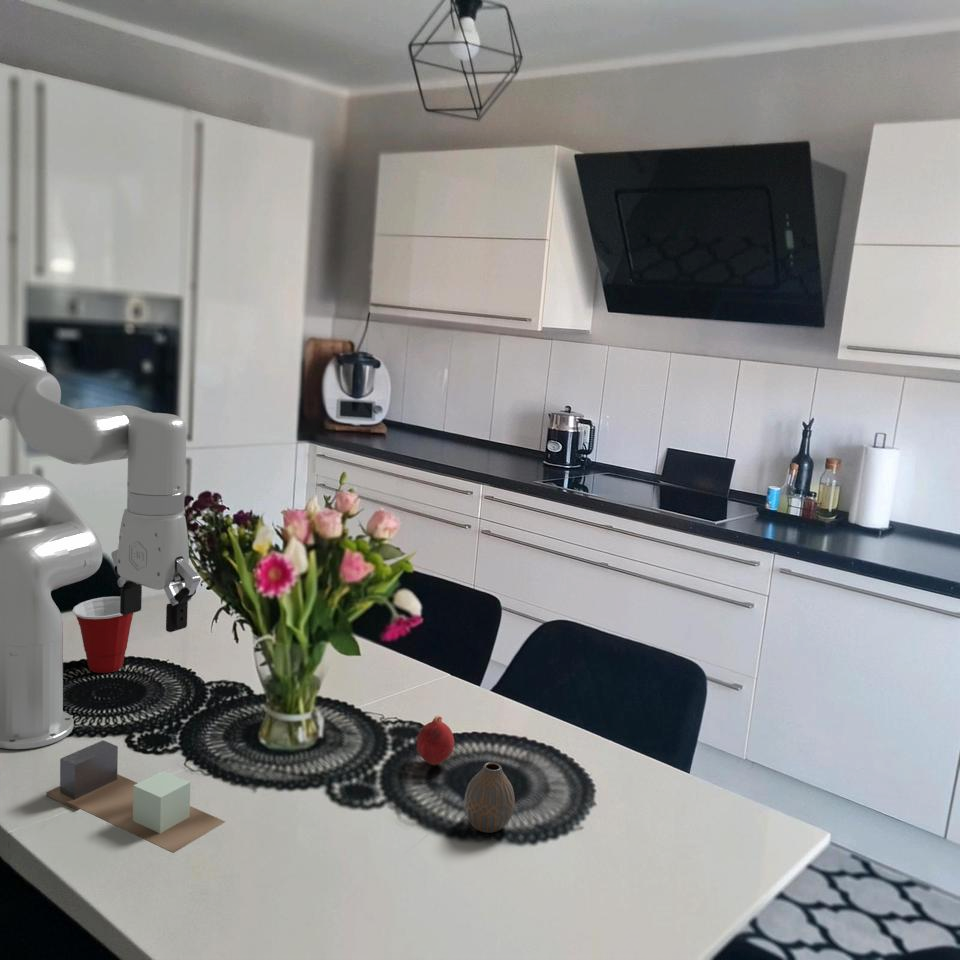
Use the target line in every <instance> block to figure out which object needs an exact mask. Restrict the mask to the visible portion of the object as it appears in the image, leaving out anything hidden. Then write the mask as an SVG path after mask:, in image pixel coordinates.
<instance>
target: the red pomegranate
mask: <svg viewBox="0 0 960 960" xmlns="http://www.w3.org/2000/svg"><path fill="white" fill-rule="evenodd" d="M442 720H443V717H442V716H441V715H435V716H434V718H433V719H432V721H431V722H428V723H426V724H425V725H424V726H423V727H422V728H421V729H420V730H419V732H418V734H417V737H416V750H417V752H418V755H419V756H420V757H421V758H422V759H423V761H424V762H426V763H428V764H429V765H431V766H437V765H438V764H441V763H442V762H444V761H446V760H447V759H448V758H449V757H450V756H451V754H452V753H453V751H454V747H455V738H454V734H453V732H452V730H451V728H450V727H449V726H448V724H446V723H444V722H443V721H442Z"/></svg>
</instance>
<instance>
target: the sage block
mask: <svg viewBox="0 0 960 960" xmlns="http://www.w3.org/2000/svg"><path fill="white" fill-rule="evenodd" d="M190 806H191V781H189V780H186V779H184V778H182V777H179V776H177V775H174V774H172V773H170V772H168V771H165V770H162V771H160V772H157V773H156V774H154V775H151V776H150V777H147V778H146V779H143V780H142V781H139V782H137V784H135V785H133V821H135V822H137V823H139V824H141V825H143V826H145V827H147V828H150V829H152V830H154V831H156V832H158V833H162V832H164V831H165V830H167V829H169V828H171V827H172V826H174V825H176V824H178V823H180V822H181V821H183V820H185V819H187V818H188V817H189V814H190Z"/></svg>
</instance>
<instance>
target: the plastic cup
mask: <svg viewBox="0 0 960 960" xmlns="http://www.w3.org/2000/svg"><path fill="white" fill-rule="evenodd" d="M72 613H73V614H74V616H75V617H76V620H77V622H78V625H79V629H80V635H81V638H82V644H83V648H84V649H83V650H84V652H85V657H86V663H87V666H88V669H89V671H91V672H93V673H99V674H107V673H114V672H117V671H119V670H121V669H122V668H123V665H124V662H125V661H124V660H125V656H126V651H127V648H128V643H129V638H130V637H129V636H130V631H131V626H132V621H133V616H134V613H131V614H127V615H122V614H121V613H120V596H102V597H97V598H96V597H95V598H92V599H89V600H85V601H82V602H79V603H78V604H77V605H75V606H73V609H72Z"/></svg>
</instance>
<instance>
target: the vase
mask: <svg viewBox="0 0 960 960" xmlns="http://www.w3.org/2000/svg"><path fill="white" fill-rule="evenodd" d="M463 800H464V801H463V803H464V804H463V805H464V812H465V815H466V818H467V820H468V822H469V824H471V826H472V827H473V828H474V829H475V830H477V831H479V832H482V833H495V832H499V831H500V830H501V829H503V828H505V827H506V825H508V824H509V822H510V820H511V818H512V816H513V813H514V810H515V809H514V808H515V804H516V803H515V802H516V800H515V793H514V788H513V785H512V783H511V782H510V780H509V779H508V777H507V776H506V775H505V773H504V771H503V769H502V766H501V765H500V764H499V763H496V762H486V763H484V765H483V766H482V768H481V769H480V770H479V771H478V772H477V773H476V774H475V776H474V777H472V779H471V780H470V781H469V783H468V785H467V787H466V789H465V794H464V799H463Z"/></svg>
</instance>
